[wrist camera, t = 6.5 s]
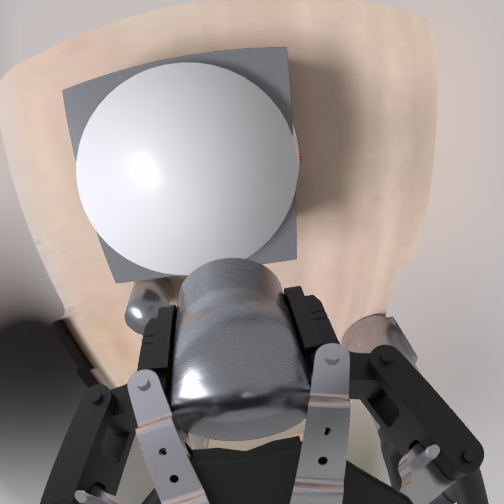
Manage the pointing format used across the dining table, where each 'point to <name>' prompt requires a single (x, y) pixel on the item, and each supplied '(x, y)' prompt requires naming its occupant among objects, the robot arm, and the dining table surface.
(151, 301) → the cylinder
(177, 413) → the cylinder
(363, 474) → the robot arm
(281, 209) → the scale
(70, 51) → the dining table surface
